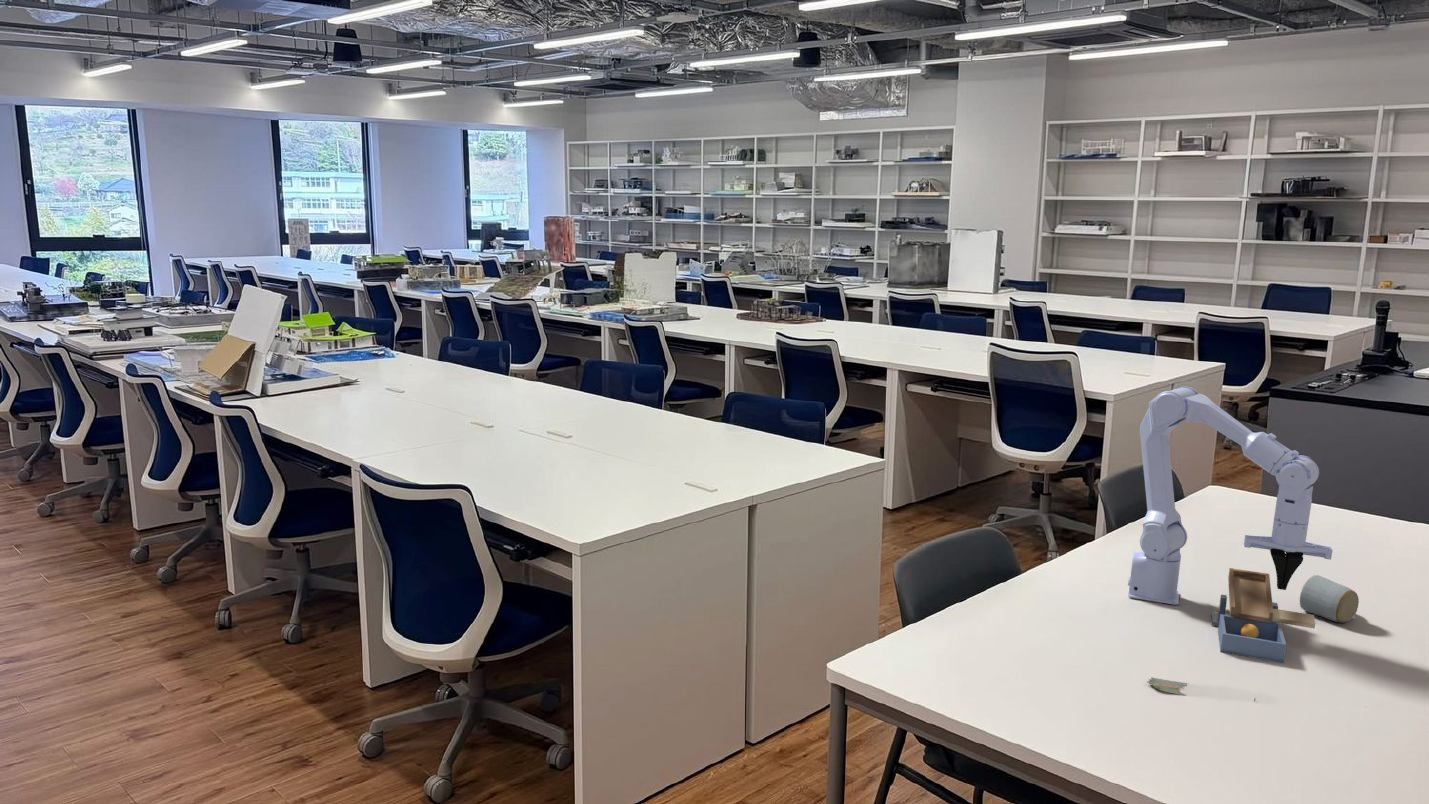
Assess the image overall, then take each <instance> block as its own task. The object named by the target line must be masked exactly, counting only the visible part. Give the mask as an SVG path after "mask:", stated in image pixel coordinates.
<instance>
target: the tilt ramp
mask: <svg viewBox="0 0 1429 804" xmlns="http://www.w3.org/2000/svg"><path fill="white" fill-rule="evenodd" d="M1227 577H1228V579H1227V580H1228V598H1229V600H1228V601H1229V614H1230V616H1231V617H1237V618H1243V619H1249V620H1256V621H1262V622H1268V623H1272V622H1277V623H1280V624H1282V625H1283V624H1285V625H1291V626H1296V627H1303V628H1310V629H1315V627H1316V621H1315V614H1312V613H1310V614H1309V613H1302V612H1299V611H1298V612H1297V611H1291V610H1285V609H1279V608H1278V609H1273V604H1272V602H1273V597H1272V587H1271V578H1270V573H1266V572H1259V571H1252V570H1245V569H1238V568H1233V567H1232V568H1231V567H1230V568H1229V571H1228V575H1227Z"/></svg>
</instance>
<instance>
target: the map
mask: <svg viewBox="0 0 1429 804" xmlns="http://www.w3.org/2000/svg"><path fill="white" fill-rule="evenodd" d="M1146 683H1148V684H1149V685H1151V686H1153V687H1154V688H1155V689H1157V690H1160V691H1162V692H1166V693H1170V694H1177V695H1181V696H1187V695H1186V694H1185V693H1183V692H1181V690H1182V689H1184V688H1185V687H1188V684H1190V683H1188V682H1181V681H1175V680H1169V679H1163V678H1156V677H1150V678H1149V679H1148V681H1146ZM1253 702H1256V697H1254V700H1253Z"/></svg>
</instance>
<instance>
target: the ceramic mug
mask: <svg viewBox="0 0 1429 804" xmlns="http://www.w3.org/2000/svg"><path fill="white" fill-rule="evenodd" d="M1359 602H1360V601H1359V596H1358V593H1357V592H1356V591H1354V590H1353V589H1351V588H1350V587H1348V586H1346V585H1343V584H1340V583H1338V582H1335V581H1333V580H1330V579H1328V578H1326V577H1323V576H1321V575H1319V574H1316V575H1315V574H1314V575H1312V576H1310V577H1308V579H1307V580H1306V581H1305V582H1304V584H1303V585H1302V588H1301V591H1300V594H1299V605H1300V608H1301V609H1302V610H1303V611H1304V612H1308V613H1310V614H1312V615H1314V616H1317V617H1322V618H1324V619H1327V620H1329V621H1332V622H1336V623H1339V624H1344V623H1347V622H1349V621H1351V620H1352V619H1353V617H1355V615H1356V613H1357V611H1358V608H1359Z"/></svg>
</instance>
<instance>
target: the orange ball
mask: <svg viewBox="0 0 1429 804" xmlns="http://www.w3.org/2000/svg"><path fill="white" fill-rule="evenodd" d="M1241 634H1242V636H1245V637H1251V638H1257V637H1258V635H1259V630H1258V628H1257V627H1256V626H1255V625H1253V624H1245V625H1244V626H1243V627H1242V628H1241Z"/></svg>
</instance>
